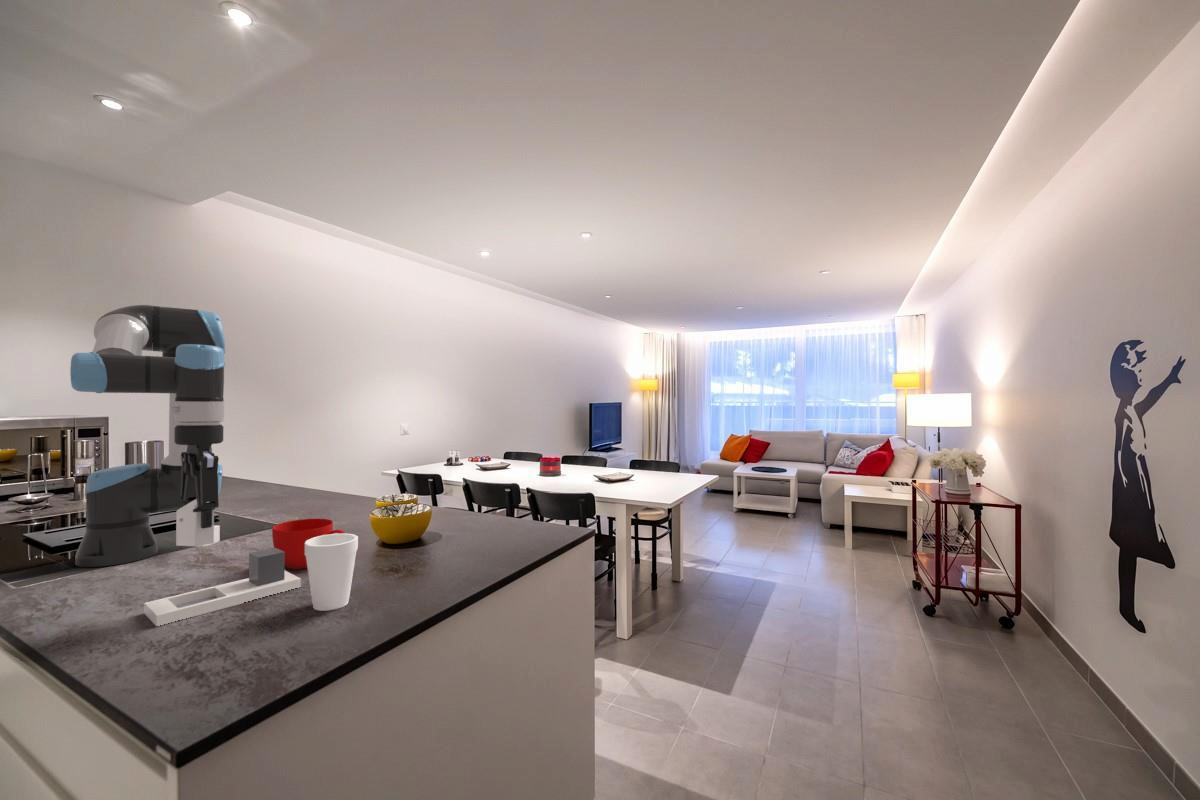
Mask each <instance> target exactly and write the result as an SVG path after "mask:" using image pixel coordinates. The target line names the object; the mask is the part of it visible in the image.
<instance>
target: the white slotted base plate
mask: <svg viewBox="0 0 1200 800" xmlns="http://www.w3.org/2000/svg"><path fill="white" fill-rule="evenodd" d="M285 566H286V565H285V552H284V551H281V550H279V549H277V548H274V547H273V548H272V547H271V548H268V549H263V550H262V549H261V550H259V551H258V550H257V551H252V552H249V553H248V577H247V578H243V579H239V580H235V581H231V582H227V583H226V582H225V583H221V584H218V585H217V584H216V585H214V586H208V587H206V588H202V589H197V590H194V591H189V592H185V593H181V594H177V595H172V596H168V597H163V598H160V599H154V600H151V601H146V602H144V605H143V606H144V607H143V610H144V611H143V613H144V615H145V616H146V617H147V618H148V619H149V620H150V622H152V624H153V625H154V626H155V627H157V626H158V627H161V626H164V624H165V625H168V623H169V624H172V623H176V622H179V621H178V620H180V621H183V620H186V618H187V619H190V617H191V618H194V617H197V616H202V615H205V614H209V613H213V612H216V611H219V610H224V609H227V608H231V607H234V606H238V605H242V604H245V603H244V602H246V603H249V602H248V601H250V602H253V601H252V600H254V599H257V600H259V599H258V598H261V599H263V598H262V597H265V596H268V597H270V596H269V595H272V596H274V595H273V594H276V595H278V594H277V593H279V594H281V593H280V592H283V593H286V592H285V591H287V592H289V591H288V590H290V591H292V590H291V589H294V590H296V589H295V588H298V589H300V588H299V587H302V578H301V577H299V576H297V575H295V574H293V573H291V572H289V571H287V570H286V567H285ZM265 598H266V597H265ZM254 601H255V600H254ZM182 619H183V620H182ZM175 621H176V622H175ZM171 622H172V623H171ZM160 625H161V626H160Z"/></svg>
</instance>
